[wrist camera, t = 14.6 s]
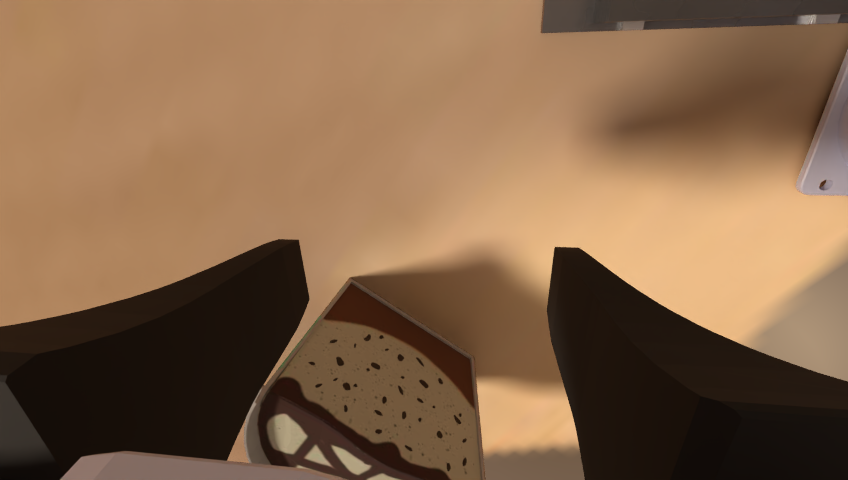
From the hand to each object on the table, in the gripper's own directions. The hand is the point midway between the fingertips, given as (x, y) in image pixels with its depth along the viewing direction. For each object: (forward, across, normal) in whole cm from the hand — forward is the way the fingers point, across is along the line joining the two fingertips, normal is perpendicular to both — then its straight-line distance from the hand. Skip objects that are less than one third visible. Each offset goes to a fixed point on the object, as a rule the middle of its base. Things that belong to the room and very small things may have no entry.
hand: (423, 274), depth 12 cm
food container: (+11, +4, +12) cm, 17 cm away
